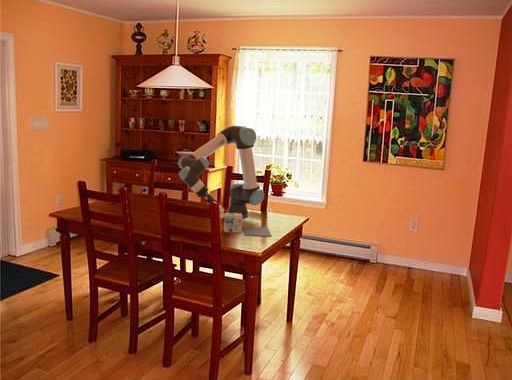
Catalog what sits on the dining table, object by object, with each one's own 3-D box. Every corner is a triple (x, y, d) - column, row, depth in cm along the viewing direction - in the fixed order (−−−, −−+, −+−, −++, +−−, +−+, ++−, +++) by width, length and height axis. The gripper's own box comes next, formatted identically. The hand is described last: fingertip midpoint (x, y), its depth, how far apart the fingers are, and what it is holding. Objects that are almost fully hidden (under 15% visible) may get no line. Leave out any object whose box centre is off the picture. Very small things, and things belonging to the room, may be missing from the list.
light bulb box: (224, 232, 290) (225, 215, 288) (223, 229, 296) (224, 212, 294) (242, 232, 292) (243, 215, 290) (240, 229, 298) (241, 213, 296)
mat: (242, 227, 305) (242, 226, 305) (267, 228, 306) (267, 227, 306) (245, 235, 285) (245, 235, 285) (271, 236, 287) (271, 235, 287)
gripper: (195, 189, 299) (218, 213, 303) (194, 196, 275) (219, 223, 279) (204, 181, 299) (227, 206, 303) (204, 188, 274) (228, 214, 278)
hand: (223, 214), depth 291 cm, fingers open, 13 cm apart
